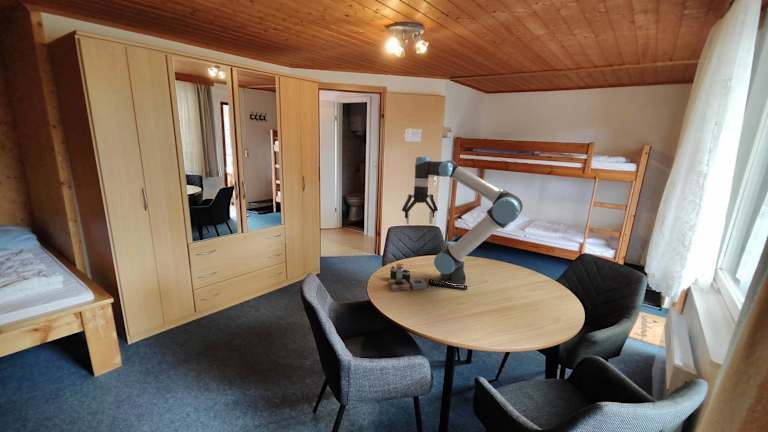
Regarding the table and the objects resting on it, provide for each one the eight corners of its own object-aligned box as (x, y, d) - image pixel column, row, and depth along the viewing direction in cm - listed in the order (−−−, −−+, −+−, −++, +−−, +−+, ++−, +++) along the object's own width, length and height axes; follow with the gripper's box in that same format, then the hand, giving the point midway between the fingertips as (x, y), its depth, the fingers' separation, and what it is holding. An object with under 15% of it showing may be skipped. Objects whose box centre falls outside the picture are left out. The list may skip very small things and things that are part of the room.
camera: (414, 279, 193) (414, 265, 191) (408, 284, 186) (408, 269, 184) (394, 276, 199) (394, 262, 198) (388, 280, 192) (388, 266, 191)
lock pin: (401, 285, 184) (402, 263, 181) (403, 288, 180) (404, 266, 177) (394, 286, 183) (395, 263, 180) (396, 289, 179) (397, 266, 177)
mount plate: (422, 282, 189) (422, 278, 188) (426, 288, 181) (427, 284, 181) (408, 283, 187) (408, 279, 187) (413, 289, 180) (413, 285, 179)
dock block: (404, 282, 188) (405, 278, 187) (410, 290, 178) (410, 286, 178) (388, 284, 185) (388, 280, 185) (392, 292, 176) (392, 287, 175)
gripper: (439, 184, 184) (437, 221, 189) (397, 184, 178) (395, 222, 183) (445, 186, 177) (442, 224, 182) (401, 186, 171) (399, 226, 176)
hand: (419, 223), depth 182 cm, fingers open, 13 cm apart
